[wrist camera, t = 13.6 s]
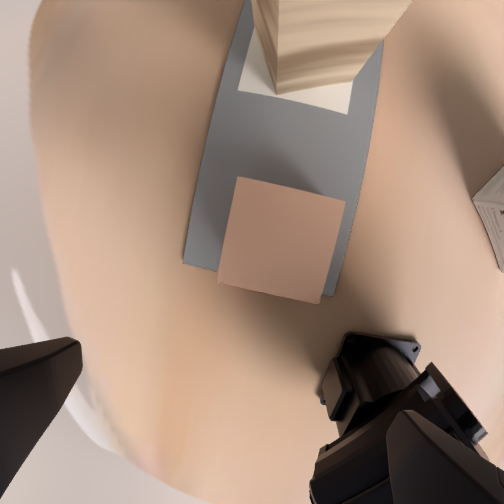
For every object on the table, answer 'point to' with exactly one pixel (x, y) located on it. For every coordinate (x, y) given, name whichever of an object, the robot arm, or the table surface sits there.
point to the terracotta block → (279, 240)
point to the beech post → (320, 38)
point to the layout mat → (280, 144)
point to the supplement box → (493, 213)
